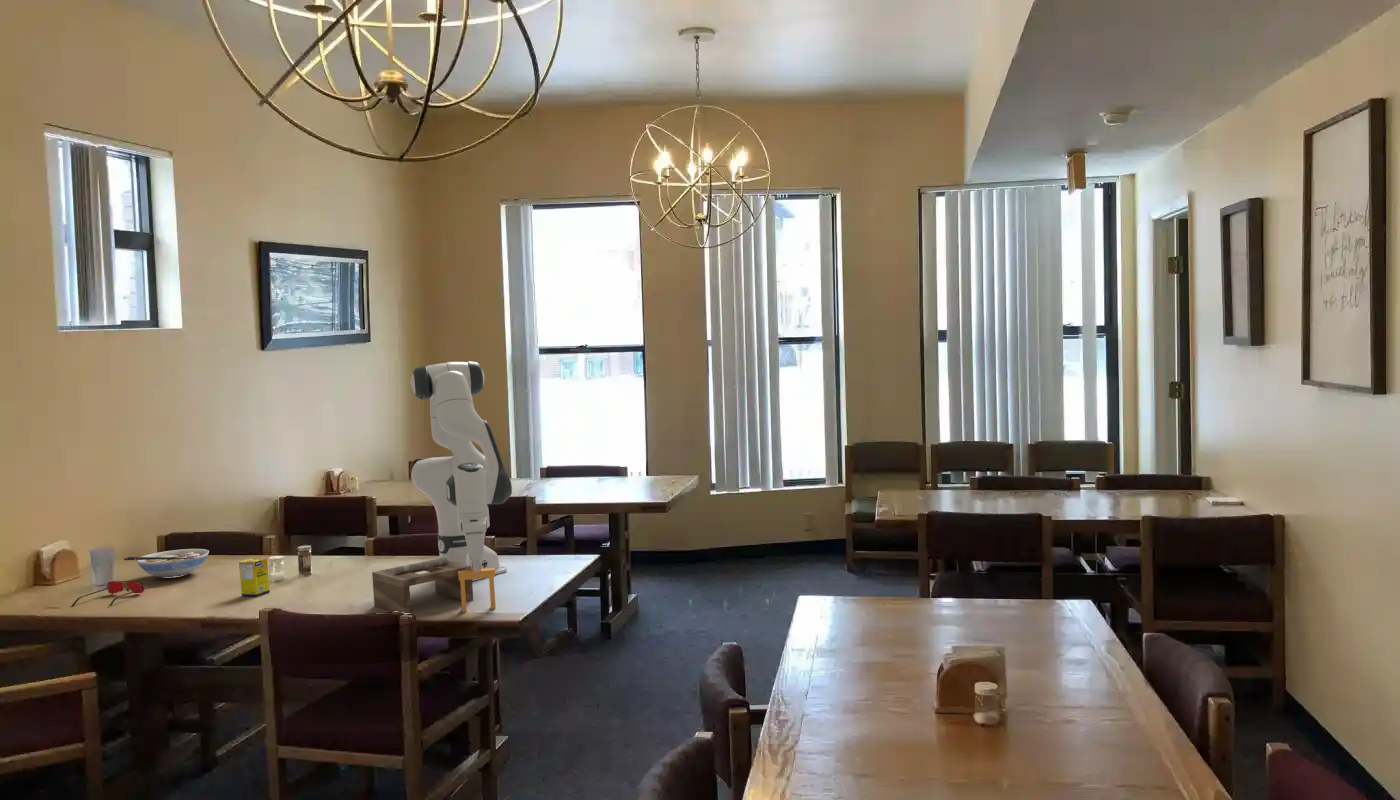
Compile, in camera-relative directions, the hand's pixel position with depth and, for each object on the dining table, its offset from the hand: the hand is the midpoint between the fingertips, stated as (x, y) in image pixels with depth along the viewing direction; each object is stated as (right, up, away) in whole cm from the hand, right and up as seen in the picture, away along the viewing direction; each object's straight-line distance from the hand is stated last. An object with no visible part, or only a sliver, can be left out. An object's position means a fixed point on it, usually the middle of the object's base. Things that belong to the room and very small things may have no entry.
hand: (476, 570), depth 309 cm
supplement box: (-76, -13, +34) cm, 84 cm away
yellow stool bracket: (+1, -11, +1) cm, 11 cm away
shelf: (-18, -11, +11) cm, 24 cm away
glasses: (-122, -16, +35) cm, 128 cm away
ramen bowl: (-117, -13, +67) cm, 135 cm away
